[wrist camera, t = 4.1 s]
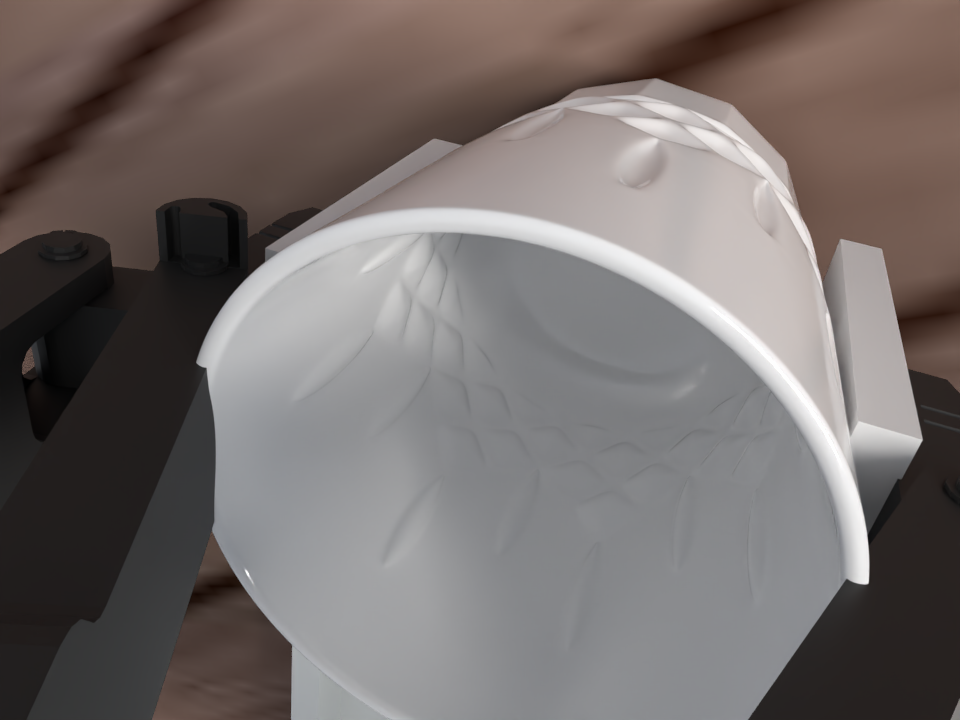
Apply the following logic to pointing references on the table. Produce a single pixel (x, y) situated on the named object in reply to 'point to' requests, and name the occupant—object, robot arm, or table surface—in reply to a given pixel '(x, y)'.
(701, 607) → the white cup
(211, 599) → the table surface
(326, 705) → the grey tray
